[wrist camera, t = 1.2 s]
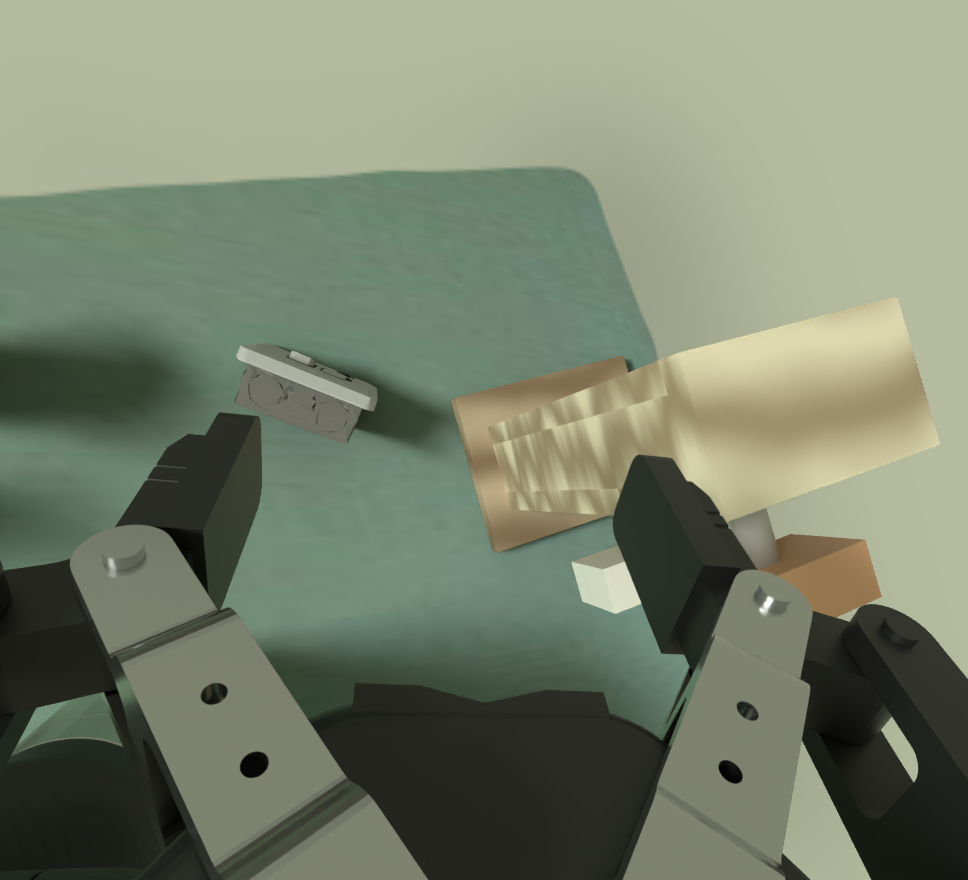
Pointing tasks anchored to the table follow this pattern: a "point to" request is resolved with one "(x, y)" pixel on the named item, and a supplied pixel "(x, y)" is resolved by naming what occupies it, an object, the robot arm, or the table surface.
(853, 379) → the knob post
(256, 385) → the electrical switch
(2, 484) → the table surface
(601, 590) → the lower knob
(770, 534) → the orange block
